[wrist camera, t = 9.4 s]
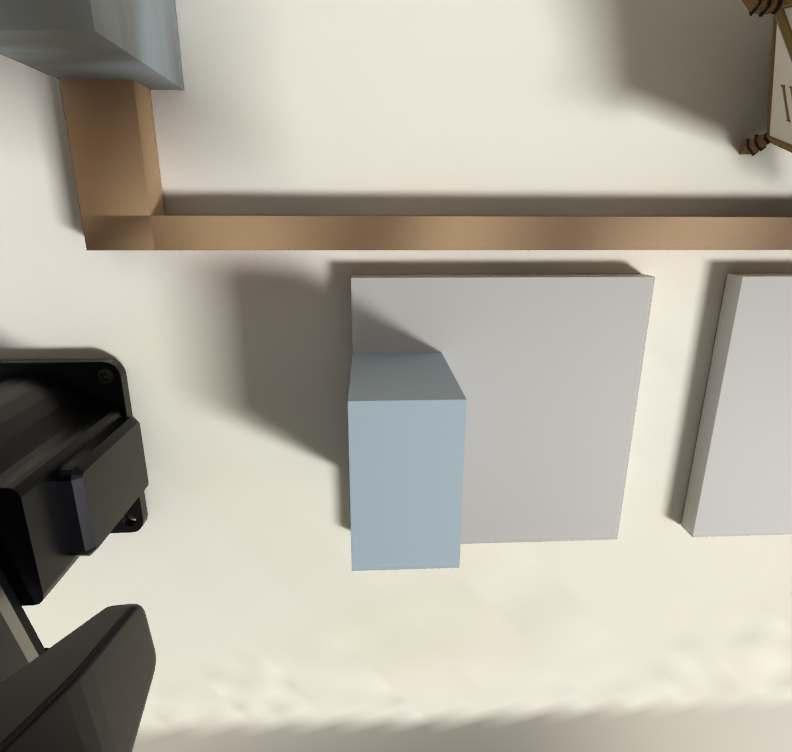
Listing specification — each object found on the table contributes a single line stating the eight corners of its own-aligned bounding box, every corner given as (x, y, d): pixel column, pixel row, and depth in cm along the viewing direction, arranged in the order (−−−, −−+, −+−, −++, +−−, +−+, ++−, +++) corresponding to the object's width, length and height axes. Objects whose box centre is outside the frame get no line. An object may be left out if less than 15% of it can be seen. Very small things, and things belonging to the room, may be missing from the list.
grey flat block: (357, 534, 21) (353, 643, 16) (351, 275, 18) (344, 301, 13) (985, 517, 22) (1178, 612, 17) (1077, 272, 19) (1345, 295, 14)
